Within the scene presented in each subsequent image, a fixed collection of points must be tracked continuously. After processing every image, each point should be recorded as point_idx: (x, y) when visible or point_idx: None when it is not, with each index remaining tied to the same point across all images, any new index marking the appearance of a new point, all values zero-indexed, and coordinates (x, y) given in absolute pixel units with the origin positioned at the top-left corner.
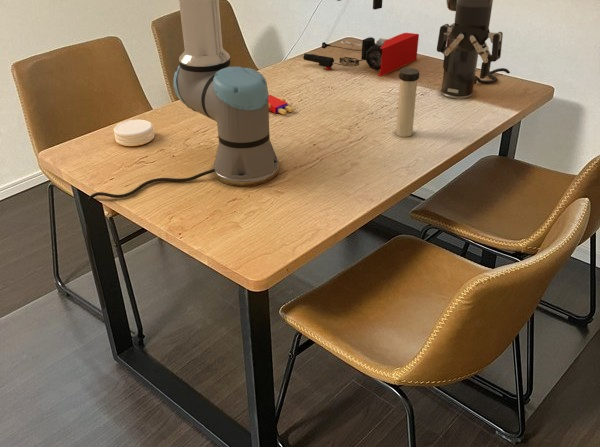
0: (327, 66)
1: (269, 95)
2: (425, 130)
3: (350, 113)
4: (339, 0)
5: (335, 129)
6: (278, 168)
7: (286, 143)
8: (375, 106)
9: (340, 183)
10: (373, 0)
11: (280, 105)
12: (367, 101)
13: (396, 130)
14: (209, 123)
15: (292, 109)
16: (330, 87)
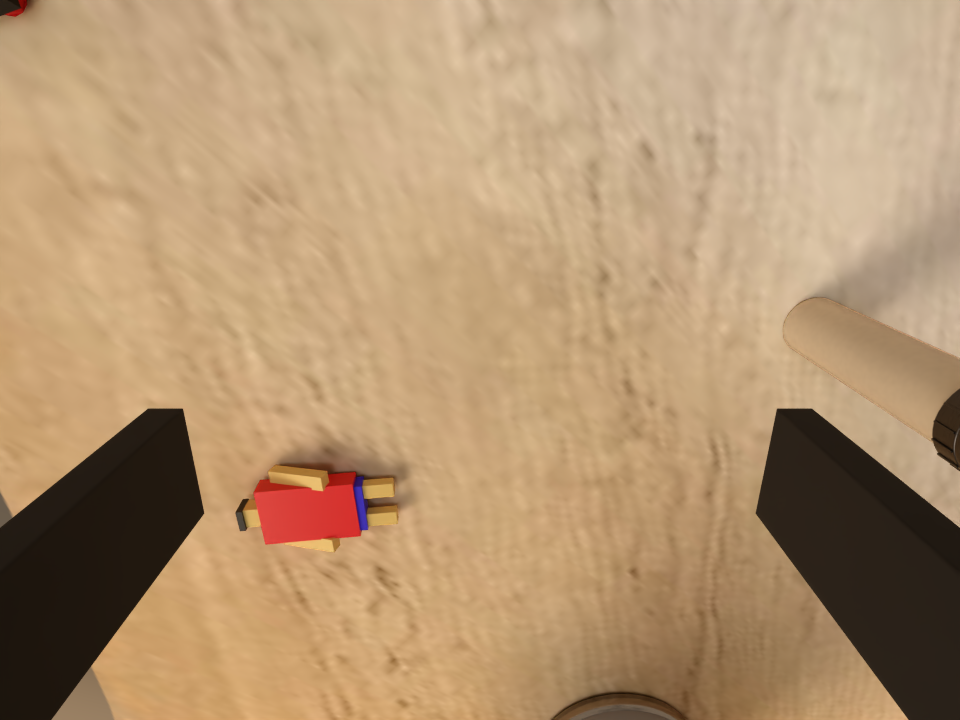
0: (9, 10)
1: (257, 498)
2: (864, 245)
3: (542, 336)
4: (199, 502)
5: (603, 464)
6: (679, 718)
7: (567, 615)
8: (564, 208)
9: (834, 652)
10: (813, 582)
11: (357, 515)
12: (500, 190)
13: (795, 350)
14: (303, 677)
15: (393, 485)
16: (258, 191)
